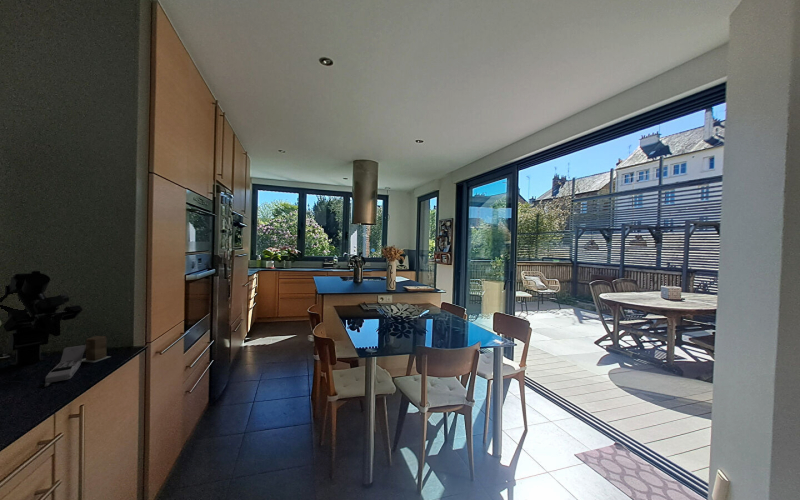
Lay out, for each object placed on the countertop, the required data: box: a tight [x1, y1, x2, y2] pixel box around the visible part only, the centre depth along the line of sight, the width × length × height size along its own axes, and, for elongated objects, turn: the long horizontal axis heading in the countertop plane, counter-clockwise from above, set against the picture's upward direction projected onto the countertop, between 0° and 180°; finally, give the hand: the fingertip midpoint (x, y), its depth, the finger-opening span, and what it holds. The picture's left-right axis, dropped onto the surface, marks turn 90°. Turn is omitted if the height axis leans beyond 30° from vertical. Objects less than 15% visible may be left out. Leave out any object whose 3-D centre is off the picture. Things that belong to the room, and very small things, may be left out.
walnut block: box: [85, 335, 107, 361], centre depth 118 cm, size 4×4×8 cm
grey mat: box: [81, 355, 112, 363], centre depth 117 cm, size 8×6×1 cm
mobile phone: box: [44, 344, 86, 387], centre depth 106 cm, size 6×6×25 cm
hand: (58, 335), depth 109 cm, fingers closed
